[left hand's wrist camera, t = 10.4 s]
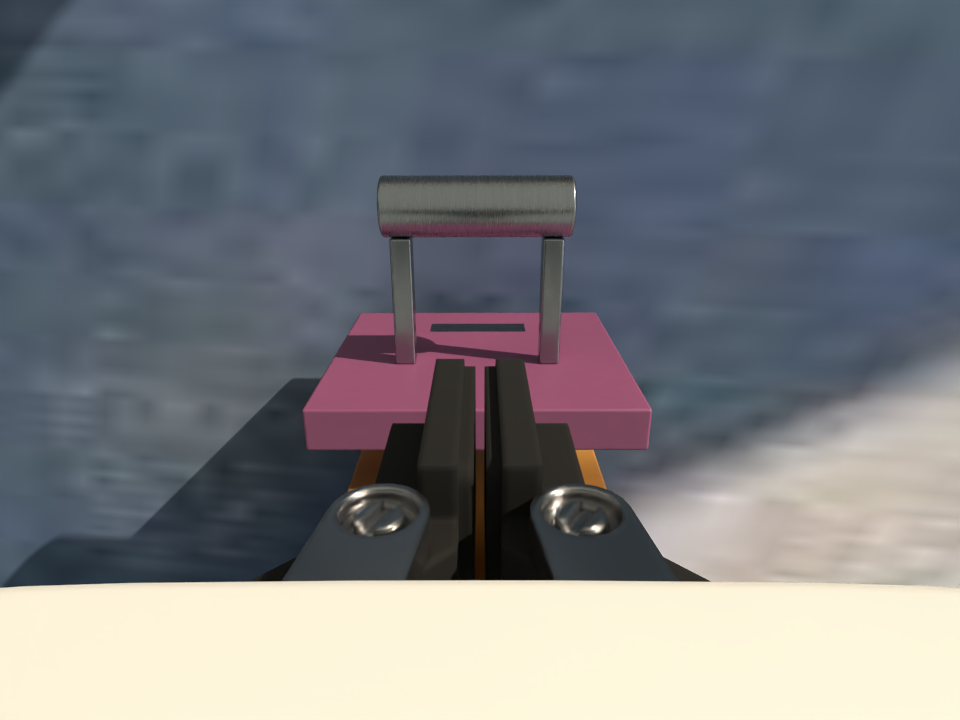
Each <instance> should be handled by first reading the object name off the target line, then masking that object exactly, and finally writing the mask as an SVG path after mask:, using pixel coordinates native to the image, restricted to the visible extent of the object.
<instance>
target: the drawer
mask: <svg viewBox="0 0 960 720" xmlns="http://www.w3.org/2000/svg"><path fill="white" fill-rule="evenodd" d="M377 213H378V222H379V228H380V232H381V234H382V236H383V237H391V238H390V241H389V243H390V262H391V280H392V299H393V313H361V314H360V315H359V317H358V319H357V320H356V322H355V324H354V325H353V327H352V329H351V330H350V332H349V334H348V335H347V337H346V339H345V340H344V342H343V344H342V345H341V347H340V349H339V350H338V352H337V354H336V355H335V357H334V358H333V360H332V362H331V363H330V365H329V367H328V368H327V370H326V372H325V373H324V375H323V377H322V378H321V380H320V382H319V383H318V385H317V387H316V388H315V390H314V392H313V393H312V395H311V397H310V398H309V400H308V402H307V403H306V405H305V406H304V408H303V410H302V415H303V424H304V433H305V441H306V448H307V450H362V451H361V454H360V457H359V460H358V463H357V465H356V468H355V471H354V474H353V477H352V480H351V482H350V485H349V488H348V491H351V490H354V489H356V488H359V487H362V486H367V485H373V484H375V482H376V478H377V475H378V471H379V468H380V464H381V461H382V457H383V454H384V450H385V447H386V443H387V440H388V436H389V433H390V429H391V426H392V424H393V423H425V418H426V412H427V407H428V401H429V396H430V390H431V384H432V379H433V373H434V368H435V362H436V359H464V361H465V366H475V370H476V534H475V580H485V534H484V370H485V366H495V361H496V359H524V362H525V368H526V373H527V379H528V384H529V390H530V396H531V401H532V407H533V412H534V418H535V423H567V424H568V426H569V429H570V433H571V436H572V440H573V443H574V447H575V450H576V454H577V457H578V461H579V464H580V468H581V471H582V475H583V478H584V482H585V484H587V485H593V486H598V487H601V488H604V489H606V486H605V483H604V480H603V477H602V474H601V471H600V468H599V465H598V462H597V459H596V456H595V453H594V450H646V449H647V448H648V443H649V433H650V424H651V415H652V410H651V408H650V406H649V404H648V403H647V401H646V399H645V397H644V396H643V394H642V392H641V391H640V389H639V387H638V385H637V384H636V382H635V380H634V378H633V377H632V375H631V373H630V372H629V370H628V368H627V366H626V365H625V363H624V361H623V359H622V358H621V356H620V354H619V353H618V351H617V349H616V347H615V346H614V344H613V342H612V340H611V339H610V337H609V335H608V334H607V332H606V330H605V328H604V327H603V325H602V323H601V321H600V320H599V318H598V316H597V315H596V313H561V309H562V287H563V266H564V244H565V240H564V238H563V237H570V236H572V234H573V231H574V227H575V220H576V183H575V179H574V177H573V176H571V175H492V176H381V177H380V178H379V182H378V188H377ZM412 237H542V245H541V275H540V305H539V313H415V288H414V264H413V239H412ZM606 490H607V489H606ZM348 491H347V492H348Z"/></svg>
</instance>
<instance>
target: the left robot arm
mask: <svg viewBox="0 0 960 720" xmlns="http://www.w3.org/2000/svg"><path fill="white" fill-rule="evenodd" d="M475 534H476V370H475V366H465V361H464V359H436V362H435V368H434V373H433V379H432V384H431V390H430V396H429V401H428V407H427V412H426V418H425V423H393V424H392V426H391V429H390V433H389V436H388V440H387V443H386V447H385V450H384V454H383V457H382V461H381V464H380V468H379V471H378V475H377V478H376V482H375V484H373V485H367V486H362V487H359V488H356V489H354V490H351V491H348V492H347V493H345V494H343V495H342V496H340V497H339V498H337V499H336V500H335V501H334V502H333V503H332V504H331V506H330V507H329V508H328V510H327V511H326V513H325V514H324V516H323V517H322V519H321V520H320V522H319V524H318V525H317V527H316V528H315V530H314V531H313V533H312V534H311V536H310V538H309V539H308V541H307V542H306V544H305V545H304V547H303V548H302V550H301V552H300V553H299V555H298V556H297V557H296V558H294V559H292V560H290V561H288V562H286V563H284V564H282V565H280V566H279V567H277V568H275V569H273V570H271V571H269V572H267V573H265V574H263V575H261V576H259V577H257V578H255V579H253V580H251V581H249V582H182V583H115V584H83V585H52V586H21V587H8V588H0V720H960V588H951V587H935V586H913V585H876V584H839V583H794V582H711V581H709V580H707V579H705V578H703V577H701V576H699V575H697V574H695V573H693V572H691V571H689V570H687V569H685V568H683V567H681V566H680V565H678V564H676V563H674V562H672V561H670V560H668V559H666V558H664V557H663V556H662V555H661V553H660V552H659V550H658V548H657V547H656V545H655V544H654V542H653V541H652V539H651V538H650V536H649V534H648V533H647V531H646V530H645V528H644V527H643V525H642V524H641V522H640V520H639V519H638V517H637V516H636V514H635V513H634V511H633V510H632V508H631V507H630V506H629V504H628V503H627V502H626V501H625V500H624V499H623V498H621V497H620V496H618V495H617V494H615V493H613V492H612V491H609V490H606V489H604V488H601V487H598V486H593V485H587V484H585V482H584V478H583V475H582V471H581V468H580V464H579V461H578V457H577V454H576V450H575V447H574V443H573V440H572V436H571V433H570V429H569V426H568V424H567V423H535V418H534V412H533V407H532V401H531V396H530V390H529V384H528V379H527V373H526V368H525V362H524V359H496V361H495V366H485V370H484V534H485V580H475Z"/></svg>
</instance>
